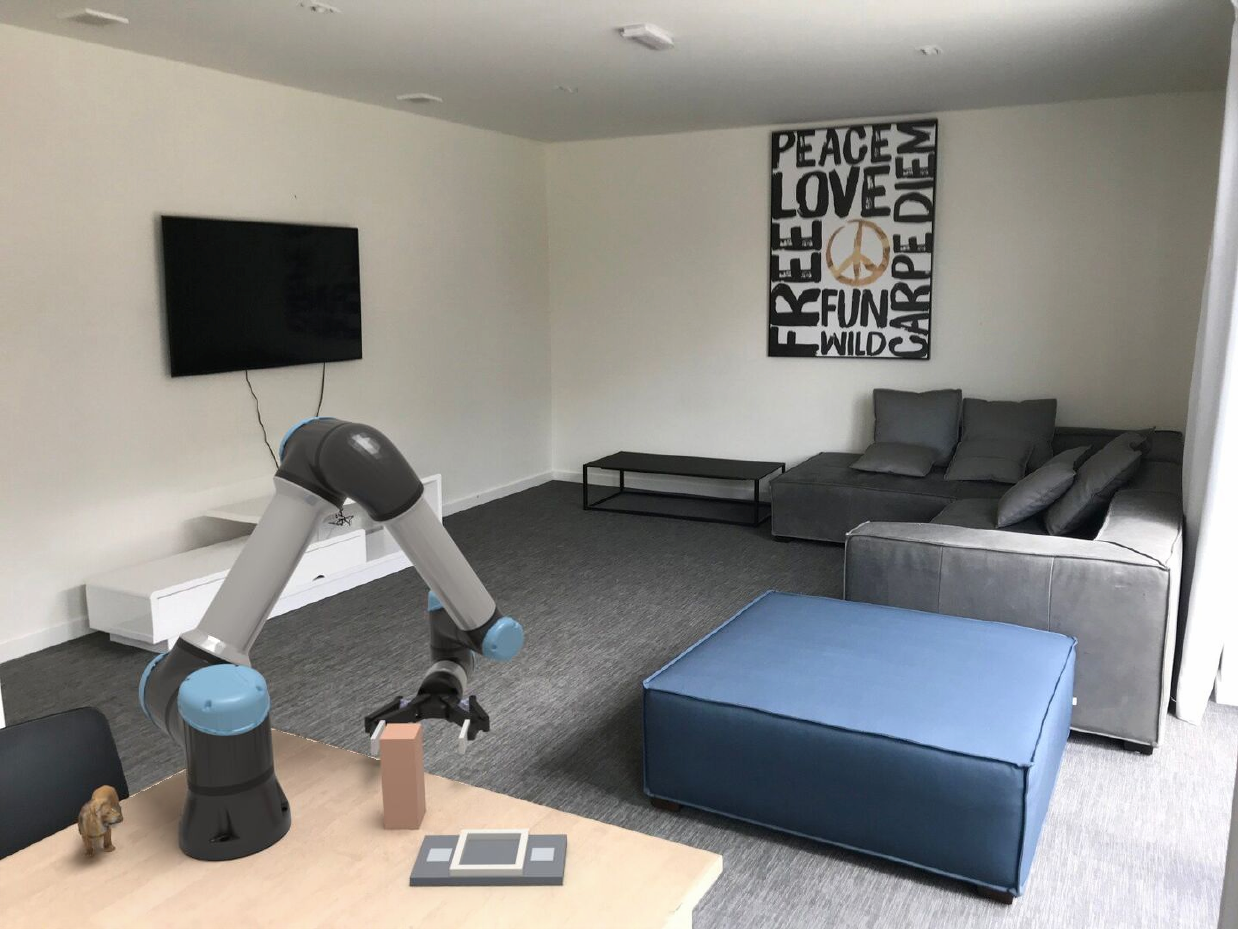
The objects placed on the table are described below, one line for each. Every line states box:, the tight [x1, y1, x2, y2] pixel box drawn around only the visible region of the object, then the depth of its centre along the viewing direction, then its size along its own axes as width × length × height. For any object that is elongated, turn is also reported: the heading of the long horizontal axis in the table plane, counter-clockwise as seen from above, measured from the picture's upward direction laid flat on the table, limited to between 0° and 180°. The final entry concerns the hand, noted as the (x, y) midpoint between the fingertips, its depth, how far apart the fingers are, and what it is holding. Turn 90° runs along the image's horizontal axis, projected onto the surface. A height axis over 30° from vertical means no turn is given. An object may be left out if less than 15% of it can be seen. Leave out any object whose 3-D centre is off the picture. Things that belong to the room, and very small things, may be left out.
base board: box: [409, 828, 568, 887], centre depth 134 cm, size 20×10×2 cm, turn 89°
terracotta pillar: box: [379, 722, 427, 830], centre depth 144 cm, size 5×5×14 cm
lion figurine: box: [77, 784, 124, 859], centre depth 140 cm, size 15×5×9 cm, turn 27°
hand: (417, 747), depth 152 cm, fingers open, 13 cm apart
